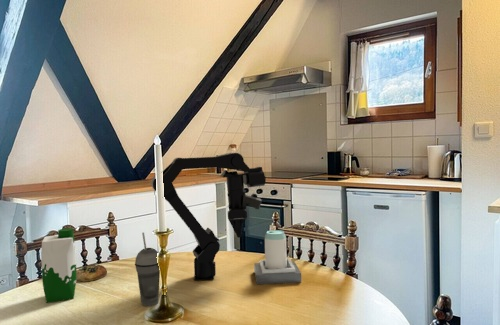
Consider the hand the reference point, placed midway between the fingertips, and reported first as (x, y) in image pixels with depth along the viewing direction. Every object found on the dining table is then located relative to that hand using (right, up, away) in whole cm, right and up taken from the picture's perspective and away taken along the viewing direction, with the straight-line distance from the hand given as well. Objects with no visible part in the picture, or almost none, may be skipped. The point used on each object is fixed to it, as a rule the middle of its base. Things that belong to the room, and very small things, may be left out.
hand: (239, 234), depth 128 cm
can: (+12, -10, -6) cm, 17 cm away
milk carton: (-53, -16, -17) cm, 58 cm away
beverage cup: (-24, -15, -24) cm, 37 cm away
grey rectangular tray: (+13, -13, -6) cm, 19 cm away
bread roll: (-52, -15, 0) cm, 54 cm away
